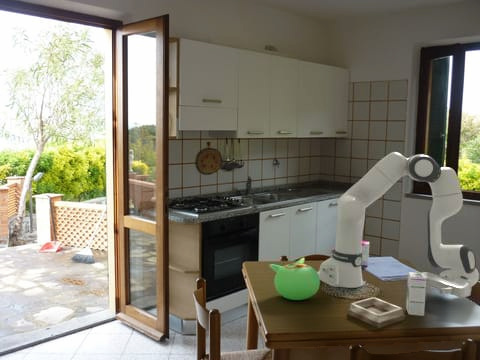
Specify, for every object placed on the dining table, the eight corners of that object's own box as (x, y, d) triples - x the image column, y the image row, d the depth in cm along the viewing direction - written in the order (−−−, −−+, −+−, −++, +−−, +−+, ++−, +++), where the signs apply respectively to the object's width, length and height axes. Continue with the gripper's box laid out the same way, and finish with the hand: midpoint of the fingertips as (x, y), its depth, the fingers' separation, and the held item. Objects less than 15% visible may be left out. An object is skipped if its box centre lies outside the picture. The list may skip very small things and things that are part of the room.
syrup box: (424, 316, 168) (427, 277, 166) (407, 314, 169) (410, 276, 167) (421, 310, 173) (424, 272, 172) (405, 308, 175) (407, 271, 173)
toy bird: (285, 308, 171) (286, 270, 170) (265, 292, 187) (267, 257, 185) (326, 303, 178) (328, 266, 176) (304, 288, 193) (306, 254, 192)
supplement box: (368, 263, 232) (369, 241, 231) (367, 266, 227) (369, 244, 225) (356, 262, 234) (358, 240, 233) (355, 265, 228) (357, 242, 227)
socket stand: (347, 313, 168) (348, 303, 167) (372, 306, 176) (373, 296, 175) (378, 328, 156) (379, 317, 156) (404, 319, 164) (405, 308, 164)
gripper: (427, 266, 191) (406, 271, 183) (475, 281, 175) (455, 287, 167) (425, 281, 192) (405, 287, 184) (474, 297, 176) (454, 304, 168)
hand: (429, 287), depth 175 cm, fingers open, 8 cm apart
